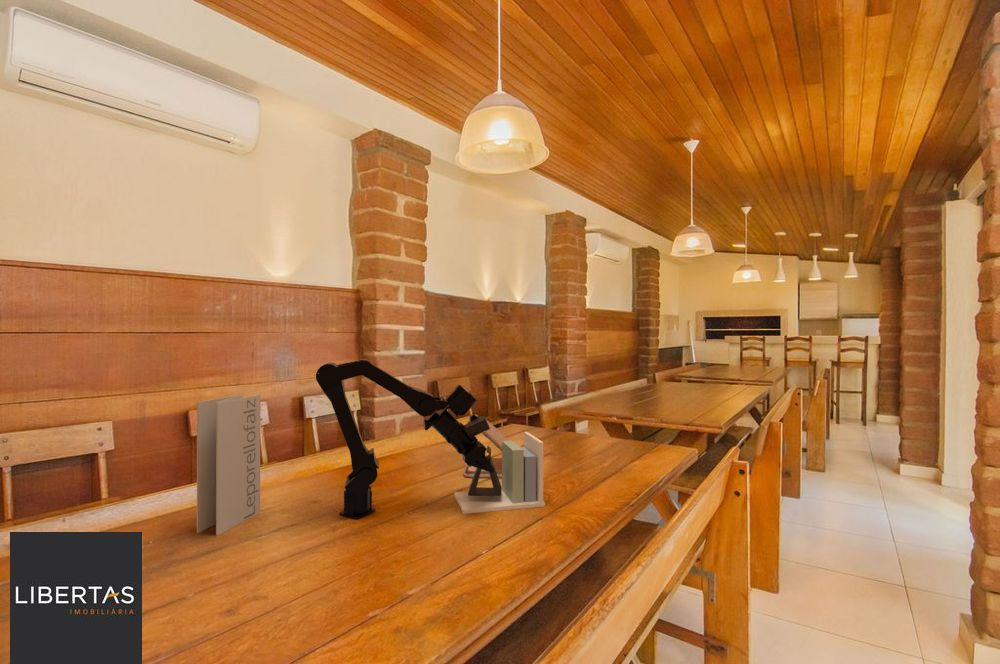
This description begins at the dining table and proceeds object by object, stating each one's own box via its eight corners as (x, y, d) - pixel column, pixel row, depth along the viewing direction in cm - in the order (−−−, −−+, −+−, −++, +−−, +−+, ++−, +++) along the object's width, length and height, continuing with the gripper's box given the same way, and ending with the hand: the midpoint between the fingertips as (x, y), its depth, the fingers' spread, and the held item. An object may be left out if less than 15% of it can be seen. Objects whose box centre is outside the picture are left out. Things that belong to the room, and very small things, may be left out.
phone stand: (501, 489, 135) (502, 445, 135) (501, 496, 129) (502, 451, 129) (469, 488, 135) (469, 445, 135) (467, 495, 129) (468, 450, 129)
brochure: (217, 535, 110) (217, 402, 110) (196, 533, 111) (196, 402, 111) (260, 512, 124) (260, 394, 124) (241, 510, 125) (241, 394, 125)
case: (528, 479, 153) (529, 428, 153) (462, 478, 153) (462, 427, 153) (526, 462, 173) (526, 417, 173) (467, 462, 174) (468, 417, 174)
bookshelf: (463, 513, 123) (463, 447, 123) (454, 495, 137) (454, 435, 137) (544, 506, 129) (545, 442, 129) (528, 489, 142) (528, 431, 142)
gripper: (478, 412, 122) (520, 454, 125) (465, 402, 140) (502, 438, 143) (447, 445, 120) (490, 487, 123) (437, 430, 138) (475, 467, 141)
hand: (490, 467), depth 132 cm, fingers closed on phone stand, 6 cm apart
